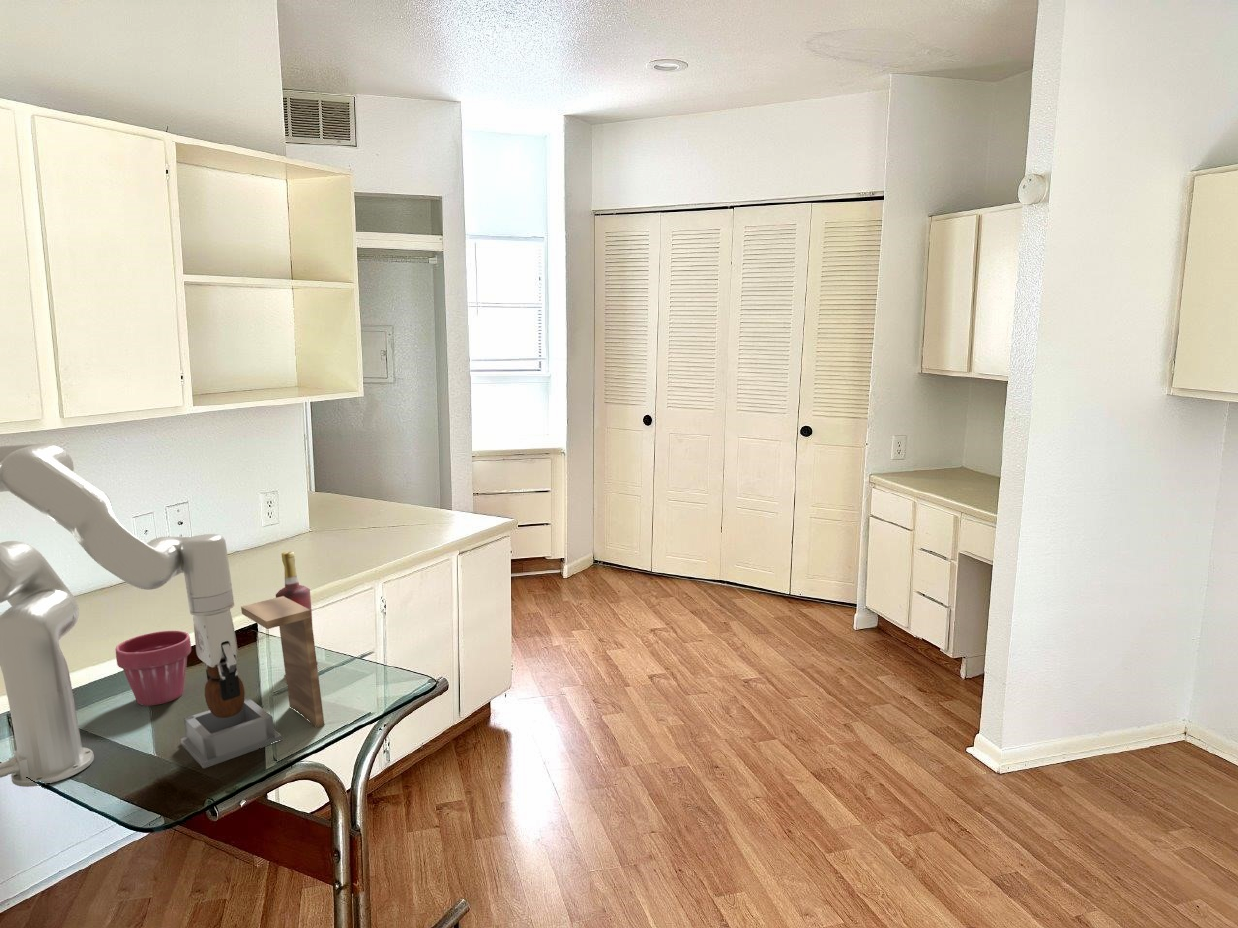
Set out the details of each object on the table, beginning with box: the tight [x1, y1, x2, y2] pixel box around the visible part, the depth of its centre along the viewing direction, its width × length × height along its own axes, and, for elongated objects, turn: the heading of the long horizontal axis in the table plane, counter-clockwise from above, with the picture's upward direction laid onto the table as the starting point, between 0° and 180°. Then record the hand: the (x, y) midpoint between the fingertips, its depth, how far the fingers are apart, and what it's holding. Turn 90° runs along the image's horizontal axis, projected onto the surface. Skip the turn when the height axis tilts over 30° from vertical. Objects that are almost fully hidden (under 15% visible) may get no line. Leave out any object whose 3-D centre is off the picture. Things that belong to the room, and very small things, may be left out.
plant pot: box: [115, 630, 192, 707], centre depth 185 cm, size 14×14×13 cm
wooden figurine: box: [204, 659, 246, 718], centre depth 160 cm, size 7×6×15 cm
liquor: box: [275, 551, 319, 666], centre depth 193 cm, size 7×7×28 cm
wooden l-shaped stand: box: [240, 596, 325, 729], centre depth 167 cm, size 8×14×24 cm, turn 42°
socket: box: [180, 697, 283, 769], centre depth 161 cm, size 14×14×5 cm
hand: (224, 691), depth 160 cm, fingers closed on wooden figurine, 7 cm apart
